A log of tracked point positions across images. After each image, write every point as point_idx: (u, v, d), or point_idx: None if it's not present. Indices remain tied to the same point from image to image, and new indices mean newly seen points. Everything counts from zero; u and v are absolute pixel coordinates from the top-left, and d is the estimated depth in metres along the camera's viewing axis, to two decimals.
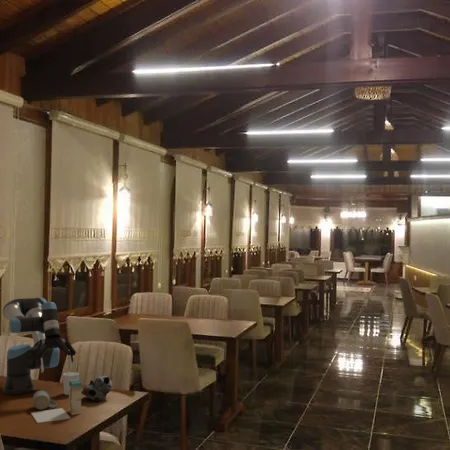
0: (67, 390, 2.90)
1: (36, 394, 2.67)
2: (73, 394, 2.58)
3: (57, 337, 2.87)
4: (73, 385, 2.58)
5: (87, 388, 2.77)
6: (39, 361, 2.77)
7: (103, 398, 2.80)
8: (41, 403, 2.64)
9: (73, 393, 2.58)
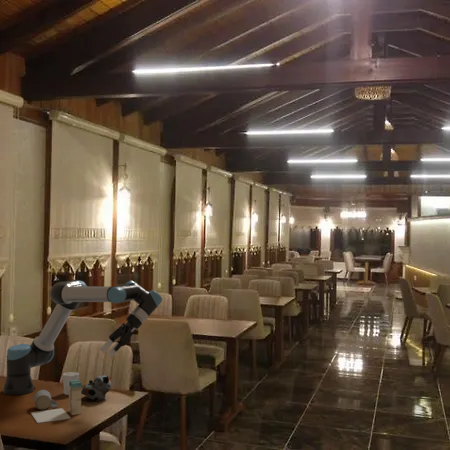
0: (67, 390, 2.90)
1: (37, 394, 2.67)
2: (73, 394, 2.58)
3: None
4: (73, 385, 2.58)
5: (86, 388, 2.78)
6: None
7: (102, 398, 2.80)
8: (42, 403, 2.64)
9: (73, 393, 2.58)
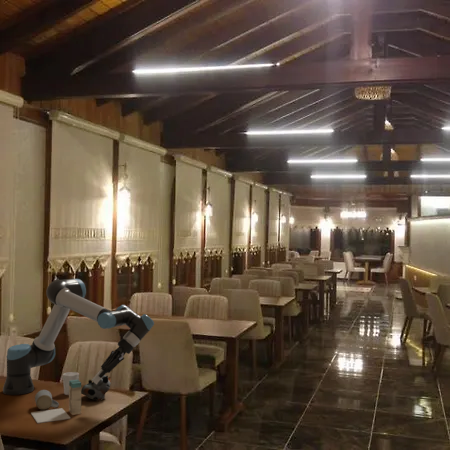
0: (67, 390, 2.90)
1: (38, 394, 2.67)
2: (73, 394, 2.58)
3: None
4: (73, 385, 2.58)
5: (86, 387, 2.78)
6: None
7: (102, 397, 2.81)
8: (43, 403, 2.64)
9: (73, 393, 2.58)
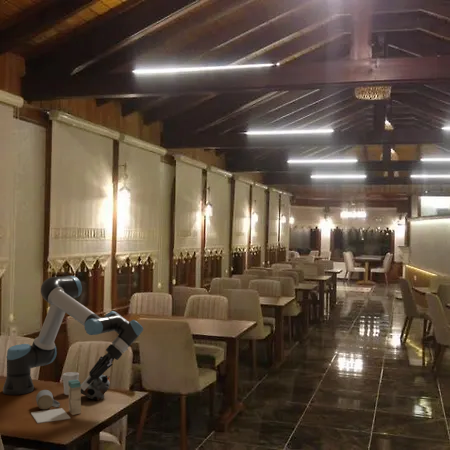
0: (67, 390, 2.90)
1: (39, 394, 2.67)
2: (72, 394, 2.58)
3: None
4: (72, 385, 2.58)
5: None
6: None
7: (101, 397, 2.82)
8: (44, 403, 2.64)
9: (72, 393, 2.58)
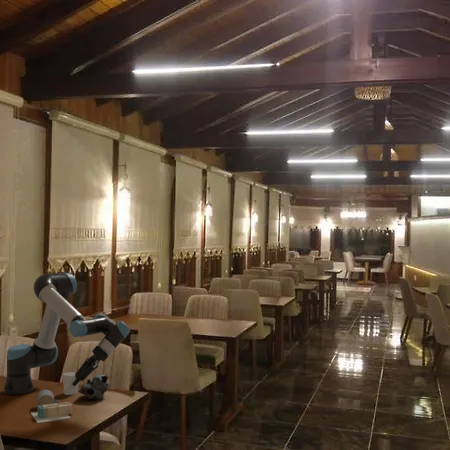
0: None
1: (40, 394, 2.67)
2: (51, 415, 2.53)
3: None
4: (42, 417, 2.51)
5: (85, 387, 2.79)
6: None
7: (101, 397, 2.82)
8: (45, 403, 2.64)
9: (50, 415, 2.53)
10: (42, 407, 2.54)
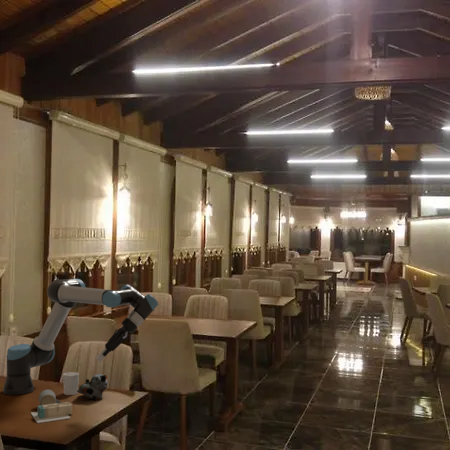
0: (67, 390, 2.90)
1: (42, 393, 2.68)
2: (51, 415, 2.53)
3: None
4: (42, 417, 2.51)
5: (84, 387, 2.80)
6: None
7: (100, 396, 2.83)
8: (47, 403, 2.65)
9: (50, 415, 2.53)
10: (42, 407, 2.54)
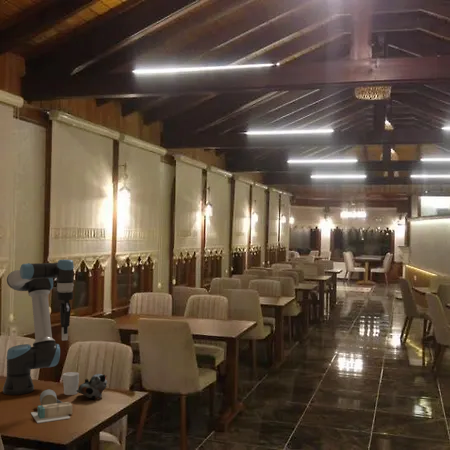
0: (67, 390, 2.90)
1: (43, 393, 2.68)
2: (51, 415, 2.53)
3: None
4: (42, 417, 2.51)
5: (84, 386, 2.80)
6: None
7: (99, 396, 2.83)
8: (48, 403, 2.65)
9: (50, 415, 2.53)
10: (42, 407, 2.54)
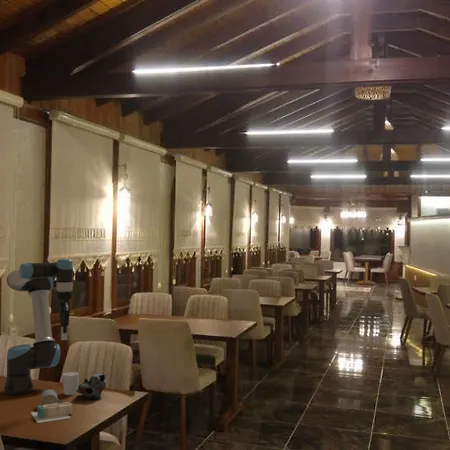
0: (67, 390, 2.90)
1: (44, 393, 2.68)
2: (51, 415, 2.53)
3: None
4: (42, 417, 2.51)
5: (83, 386, 2.80)
6: None
7: (99, 396, 2.84)
8: (49, 403, 2.65)
9: (50, 415, 2.53)
10: (42, 407, 2.54)
